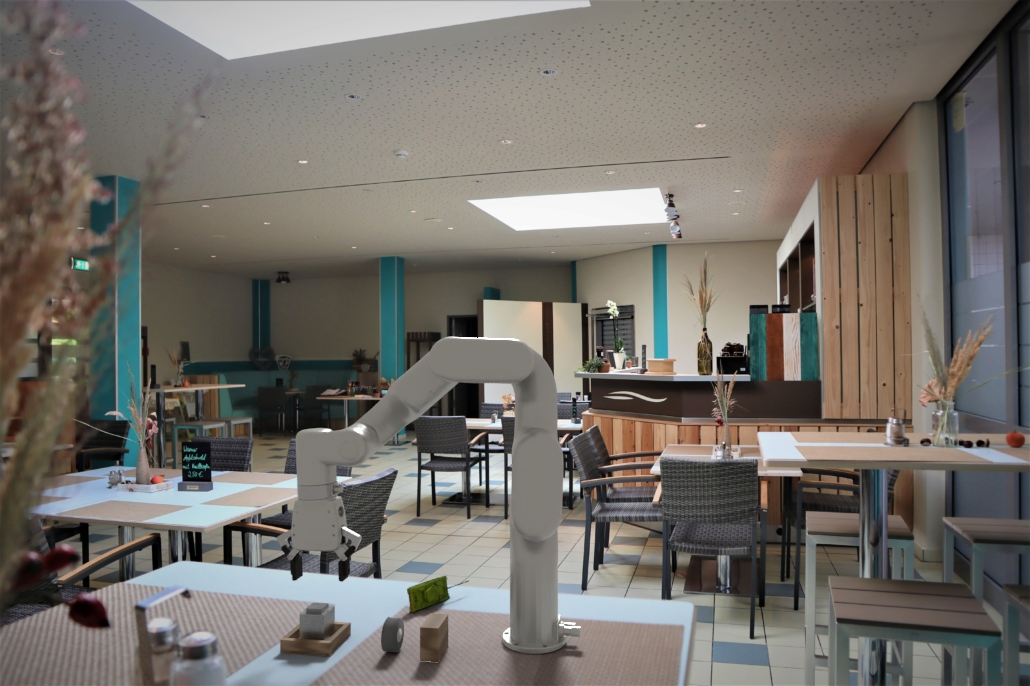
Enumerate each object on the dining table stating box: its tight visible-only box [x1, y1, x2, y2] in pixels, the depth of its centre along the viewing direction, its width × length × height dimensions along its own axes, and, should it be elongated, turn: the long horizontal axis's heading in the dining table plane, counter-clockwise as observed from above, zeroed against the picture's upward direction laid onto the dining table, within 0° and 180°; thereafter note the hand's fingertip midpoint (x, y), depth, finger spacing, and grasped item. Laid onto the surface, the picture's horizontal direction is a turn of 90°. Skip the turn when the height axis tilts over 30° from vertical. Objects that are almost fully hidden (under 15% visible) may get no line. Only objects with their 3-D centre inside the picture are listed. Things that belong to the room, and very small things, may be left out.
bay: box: [279, 621, 352, 657], centre depth 137 cm, size 10×10×2 cm
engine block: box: [299, 602, 336, 641], centre depth 137 cm, size 5×5×7 cm
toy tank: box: [406, 575, 470, 613], centre depth 159 cm, size 7×19×10 cm
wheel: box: [380, 617, 405, 653], centre depth 133 cm, size 3×6×6 cm, turn 171°
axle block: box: [419, 612, 449, 663], centre depth 132 cm, size 4×7×6 cm, turn 171°
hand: (320, 578), depth 137 cm, fingers open, 9 cm apart
